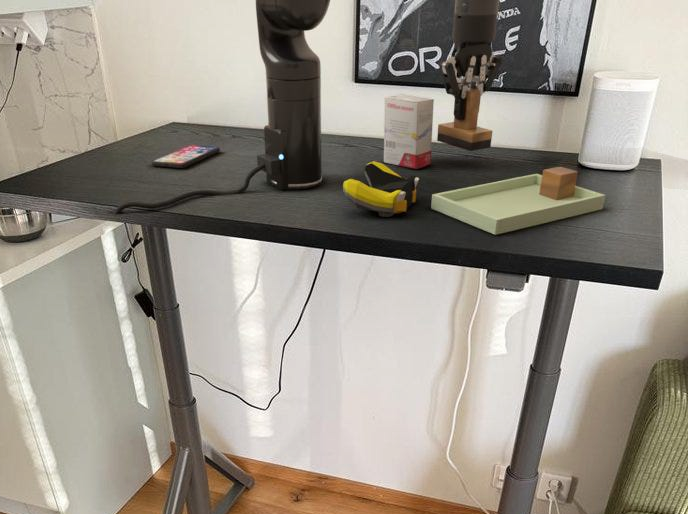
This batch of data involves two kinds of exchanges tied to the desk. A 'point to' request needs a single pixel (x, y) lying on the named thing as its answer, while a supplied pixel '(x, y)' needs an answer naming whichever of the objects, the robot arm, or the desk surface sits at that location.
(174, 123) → the desk surface
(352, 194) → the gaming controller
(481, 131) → the brush
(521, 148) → the desk surface
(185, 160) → the smartphone
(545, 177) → the wooden block
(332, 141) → the desk surface
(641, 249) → the desk surface
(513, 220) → the tray
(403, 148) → the ink box
